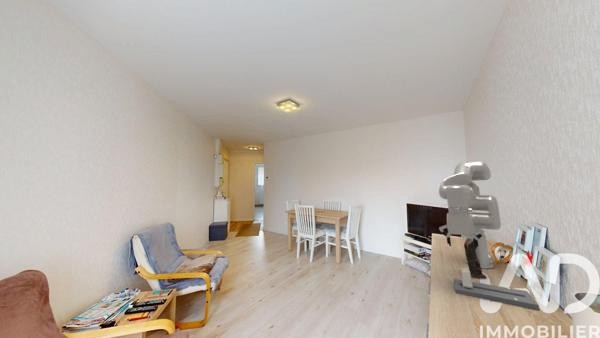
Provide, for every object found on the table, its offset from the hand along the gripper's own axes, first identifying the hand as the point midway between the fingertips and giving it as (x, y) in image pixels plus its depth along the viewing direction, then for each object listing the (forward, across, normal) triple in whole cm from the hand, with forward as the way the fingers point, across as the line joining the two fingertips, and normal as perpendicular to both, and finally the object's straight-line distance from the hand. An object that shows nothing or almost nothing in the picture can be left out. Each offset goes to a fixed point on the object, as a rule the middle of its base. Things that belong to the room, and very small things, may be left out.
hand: (462, 246), depth 96 cm
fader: (+18, 0, 0) cm, 18 cm away
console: (+20, -8, 0) cm, 22 cm away
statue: (+20, -5, -20) cm, 29 cm away
